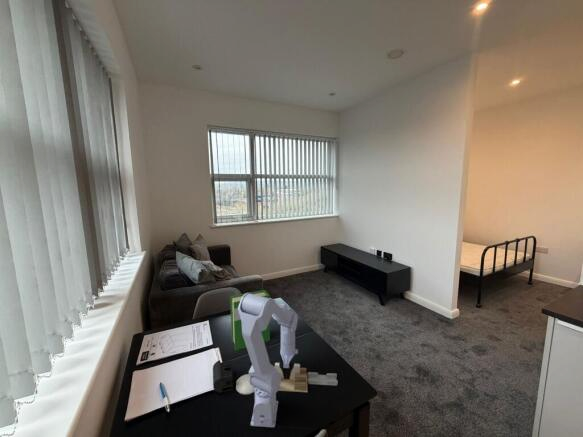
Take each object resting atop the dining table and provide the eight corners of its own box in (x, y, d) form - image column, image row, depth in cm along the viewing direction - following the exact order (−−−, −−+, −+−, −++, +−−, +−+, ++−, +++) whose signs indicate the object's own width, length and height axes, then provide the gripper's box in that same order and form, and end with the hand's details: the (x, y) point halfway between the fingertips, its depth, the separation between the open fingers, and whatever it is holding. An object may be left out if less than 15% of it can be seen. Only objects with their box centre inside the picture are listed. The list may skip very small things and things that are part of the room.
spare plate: (256, 396, 91) (256, 393, 91) (232, 394, 92) (232, 391, 91) (261, 377, 100) (261, 374, 100) (239, 376, 101) (239, 373, 100)
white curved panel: (299, 379, 98) (299, 366, 97) (274, 377, 98) (274, 365, 97) (299, 376, 99) (299, 363, 98) (275, 374, 100) (275, 362, 99)
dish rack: (307, 393, 92) (307, 385, 91) (265, 391, 93) (265, 382, 92) (307, 375, 101) (307, 367, 100) (269, 373, 102) (269, 365, 101)
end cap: (213, 376, 100) (212, 361, 99) (230, 372, 102) (230, 357, 101) (213, 396, 91) (213, 379, 90) (233, 391, 93) (232, 375, 92)
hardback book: (235, 350, 116) (233, 302, 113) (231, 341, 122) (230, 296, 119) (269, 340, 123) (269, 295, 120) (264, 332, 130) (264, 289, 127)
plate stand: (337, 386, 95) (337, 382, 95) (307, 385, 96) (308, 381, 95) (336, 376, 100) (336, 372, 100) (307, 375, 101) (307, 371, 100)
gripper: (297, 352, 89) (296, 386, 91) (298, 329, 103) (298, 359, 105) (278, 352, 90) (278, 385, 91) (282, 329, 104) (282, 358, 106)
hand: (287, 371), depth 98 cm, fingers open, 7 cm apart
